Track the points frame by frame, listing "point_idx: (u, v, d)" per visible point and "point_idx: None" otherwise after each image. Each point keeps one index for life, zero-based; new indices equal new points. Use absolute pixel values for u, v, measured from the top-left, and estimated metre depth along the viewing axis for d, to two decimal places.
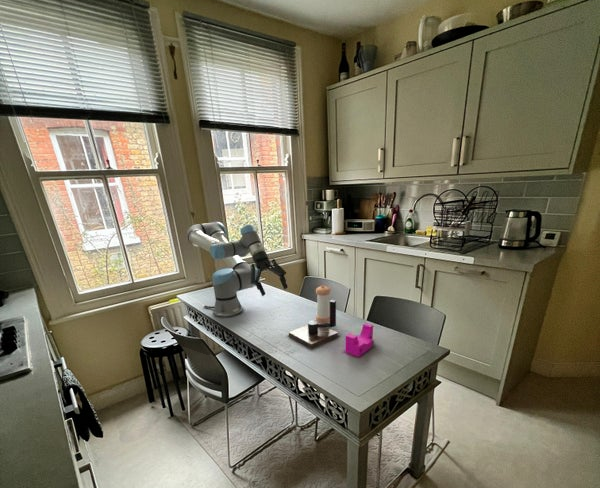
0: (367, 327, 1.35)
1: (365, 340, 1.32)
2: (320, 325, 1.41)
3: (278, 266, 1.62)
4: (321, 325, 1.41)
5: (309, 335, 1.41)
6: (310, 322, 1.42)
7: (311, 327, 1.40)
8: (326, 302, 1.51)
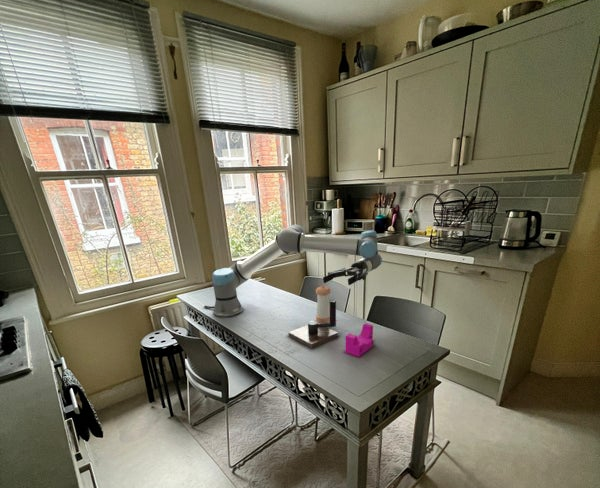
0: (367, 327, 1.35)
1: (365, 340, 1.32)
2: (320, 325, 1.41)
3: None
4: (321, 325, 1.41)
5: (309, 335, 1.41)
6: (310, 322, 1.42)
7: (311, 327, 1.40)
8: (326, 302, 1.51)
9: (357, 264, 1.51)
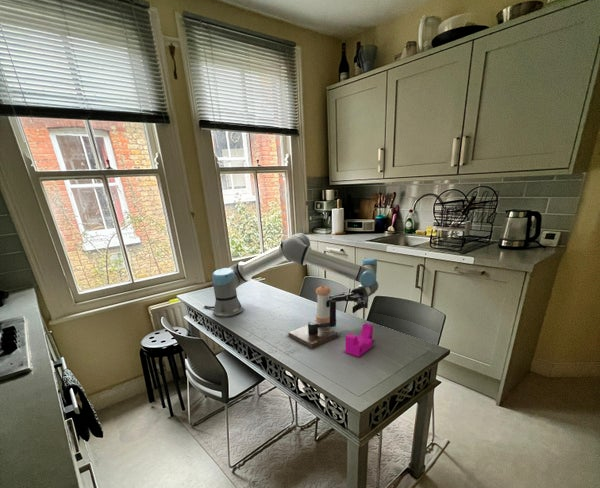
0: (367, 327, 1.35)
1: (365, 340, 1.32)
2: (320, 325, 1.41)
3: None
4: (321, 325, 1.41)
5: (309, 335, 1.41)
6: (310, 322, 1.42)
7: (311, 327, 1.40)
8: None
9: (358, 290, 1.55)
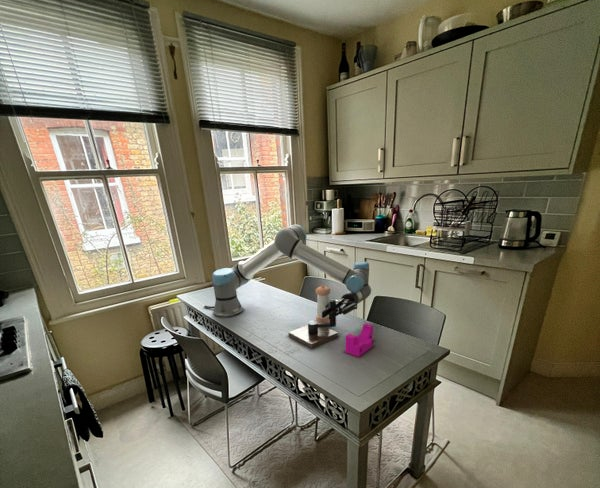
0: (367, 327, 1.35)
1: (365, 340, 1.32)
2: (320, 325, 1.41)
3: None
4: (321, 325, 1.41)
5: (309, 335, 1.41)
6: (310, 322, 1.42)
7: (311, 327, 1.40)
8: (326, 302, 1.51)
9: (349, 296, 1.48)
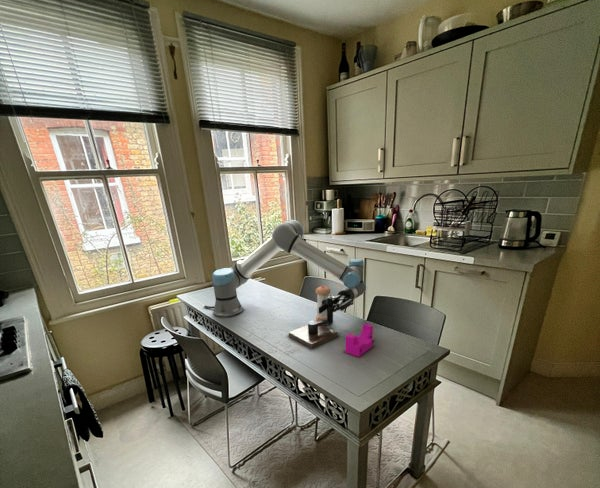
0: (367, 327, 1.35)
1: (365, 340, 1.32)
2: (320, 323, 1.43)
3: None
4: (321, 323, 1.43)
5: (309, 335, 1.41)
6: (310, 322, 1.42)
7: (313, 327, 1.40)
8: None
9: (345, 292, 1.53)
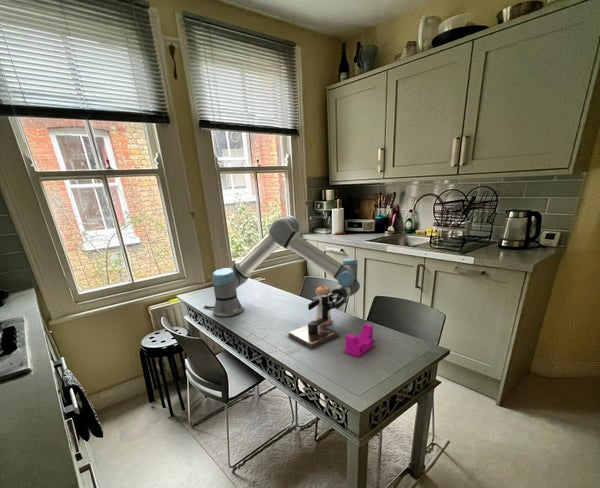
0: (367, 327, 1.35)
1: (365, 340, 1.32)
2: (319, 322, 1.44)
3: None
4: (319, 322, 1.44)
5: (309, 335, 1.41)
6: (310, 323, 1.41)
7: (315, 327, 1.41)
8: None
9: (338, 290, 1.55)
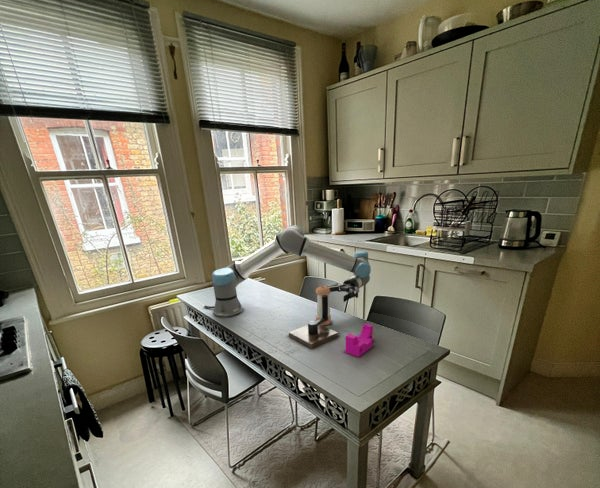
0: (367, 327, 1.35)
1: (365, 340, 1.32)
2: (319, 322, 1.44)
3: None
4: (319, 322, 1.44)
5: (309, 335, 1.41)
6: (310, 323, 1.41)
7: (315, 327, 1.41)
8: None
9: (350, 281, 1.64)
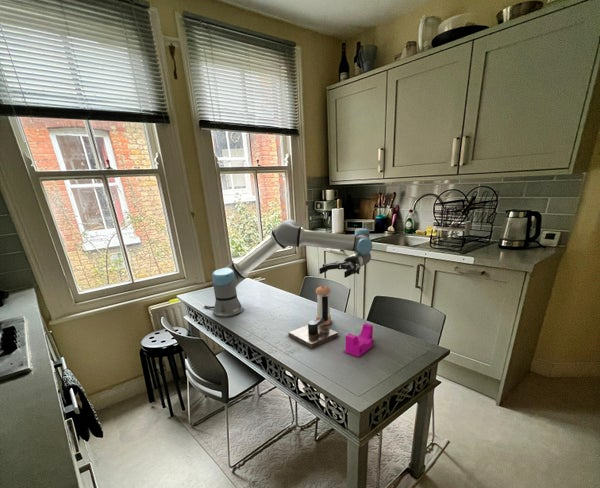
0: (367, 327, 1.35)
1: (365, 340, 1.32)
2: (319, 322, 1.44)
3: None
4: (319, 322, 1.44)
5: (309, 335, 1.41)
6: (310, 323, 1.41)
7: (315, 327, 1.41)
8: None
9: (350, 259, 1.60)
